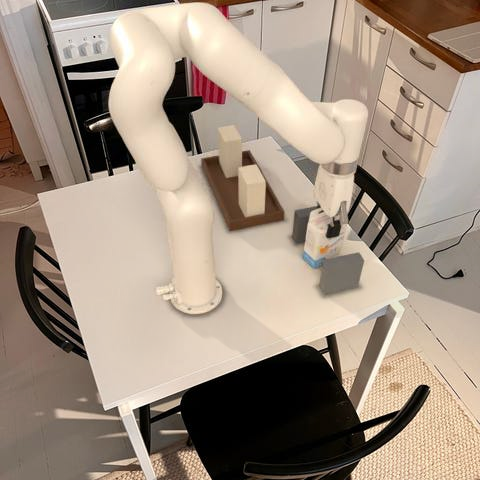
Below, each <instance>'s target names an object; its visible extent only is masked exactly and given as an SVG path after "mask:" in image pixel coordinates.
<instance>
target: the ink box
mask: <svg viewBox="0 0 480 480" xmlns="http://www.w3.org/2000/svg"><path fill="white" fill-rule="evenodd" d="M322 210H323V209H322V208H321V207H320V208H318V209H316V210H314V211H311V213H310V217H309V222H308V226H307V233H306V239H305V242H304V246H303V253H302V260H304V262H306V263H307V264H308V265H309V266H310V267H311V268H312V269H314V270H315V269H317V268H319V267H321V266H323V261H324V260H326V259H330V258H335V257H339V256H341V251H342V248H343V243H344V238H345V234H346V230H347V227H348V226H347V225H348V223H347V224H343V225H342V226H341V230H340V235H339V236H338V237H333V238H327V237H326V234H327V229H328V224H330V217H329V216H327V215H326V213H325V212H322V213H320V214H318V213H319V212H320V211H322ZM335 220H339V215H337V216H335Z"/></svg>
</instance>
